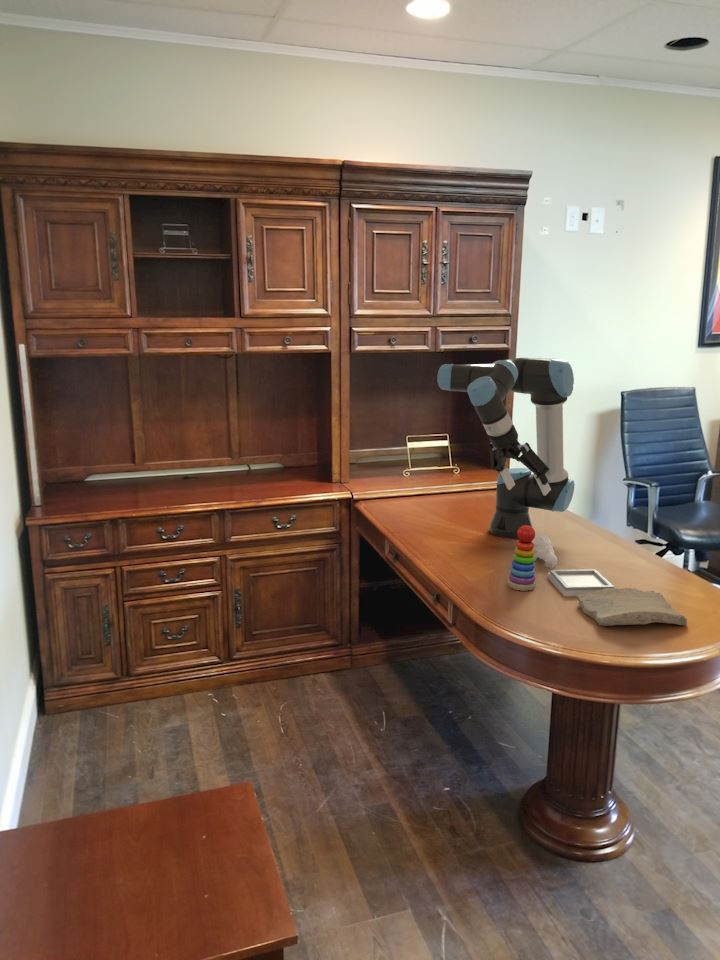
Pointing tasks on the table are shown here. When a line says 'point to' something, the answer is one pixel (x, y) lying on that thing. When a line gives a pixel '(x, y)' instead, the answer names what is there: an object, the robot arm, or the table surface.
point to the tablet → (628, 607)
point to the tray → (578, 581)
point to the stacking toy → (523, 561)
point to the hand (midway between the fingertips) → (529, 489)
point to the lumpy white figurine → (544, 550)
